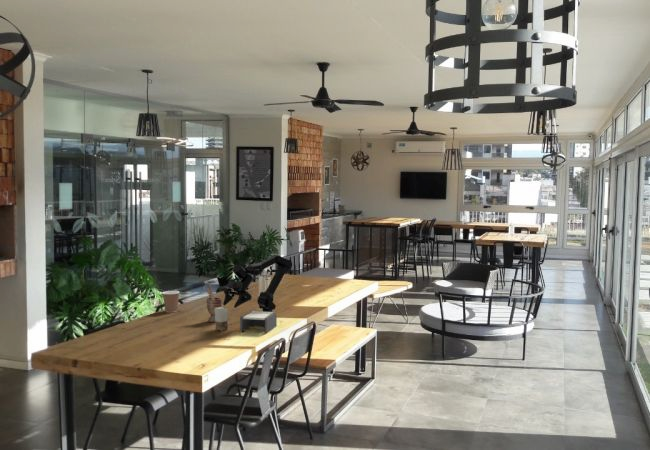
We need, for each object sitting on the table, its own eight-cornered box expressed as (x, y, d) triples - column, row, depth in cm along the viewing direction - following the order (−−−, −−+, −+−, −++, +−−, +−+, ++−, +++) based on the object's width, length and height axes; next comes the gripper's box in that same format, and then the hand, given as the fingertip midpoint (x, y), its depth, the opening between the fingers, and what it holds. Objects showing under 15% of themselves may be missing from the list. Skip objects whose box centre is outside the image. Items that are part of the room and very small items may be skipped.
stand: (222, 328, 342) (222, 319, 341) (227, 329, 339) (227, 320, 338) (215, 330, 338) (215, 320, 338) (221, 331, 335) (220, 322, 335)
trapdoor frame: (251, 324, 350) (250, 310, 349) (276, 326, 346) (276, 311, 346) (240, 331, 334) (240, 317, 333) (266, 333, 330) (266, 318, 330)
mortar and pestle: (199, 321, 360) (199, 286, 358) (209, 318, 367) (208, 284, 366) (216, 323, 354) (215, 288, 353) (225, 320, 362) (224, 286, 360)
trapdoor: (253, 316, 349) (253, 310, 348) (273, 317, 346) (273, 311, 346) (243, 323, 334) (243, 316, 333) (264, 324, 331) (264, 317, 331)
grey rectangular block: (222, 319, 342) (222, 306, 341) (228, 320, 338) (227, 308, 338) (215, 320, 338) (214, 308, 338) (220, 322, 335) (220, 309, 334)
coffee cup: (182, 309, 392) (181, 290, 391) (176, 313, 382) (176, 293, 381) (166, 309, 393) (165, 290, 392) (160, 313, 383) (159, 293, 382)
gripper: (225, 273, 351) (209, 295, 343) (247, 276, 338) (231, 299, 331) (236, 285, 357) (221, 307, 350) (258, 289, 345) (243, 311, 337)
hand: (229, 306), depth 342 cm, fingers open, 9 cm apart
